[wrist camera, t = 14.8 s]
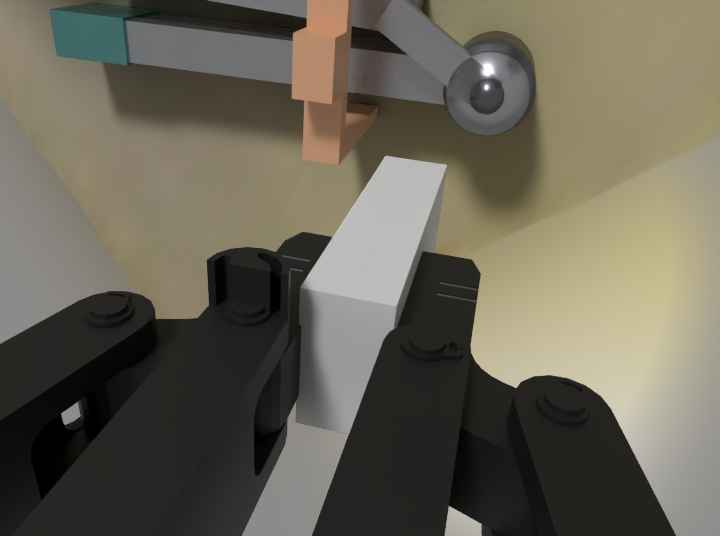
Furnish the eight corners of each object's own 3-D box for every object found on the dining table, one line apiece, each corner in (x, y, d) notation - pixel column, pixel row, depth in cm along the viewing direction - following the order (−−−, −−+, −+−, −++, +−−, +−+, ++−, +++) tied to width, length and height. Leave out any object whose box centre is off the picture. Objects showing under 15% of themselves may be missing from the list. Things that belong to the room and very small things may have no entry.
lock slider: (392, -56, 36) (340, -52, 26) (377, 118, 41) (327, 177, 31) (359, -59, 37) (295, -56, 27) (348, 113, 42) (290, 171, 32)
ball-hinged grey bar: (542, 36, 37) (544, 49, 33) (525, 119, 39) (524, 141, 35) (90, -15, 42) (40, -10, 38) (99, 61, 44) (53, 75, 40)
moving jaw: (549, 0, 36) (553, 12, 30) (519, 116, 39) (517, 145, 34) (120, -71, 40) (55, -72, 34) (126, 40, 43) (68, 55, 38)
